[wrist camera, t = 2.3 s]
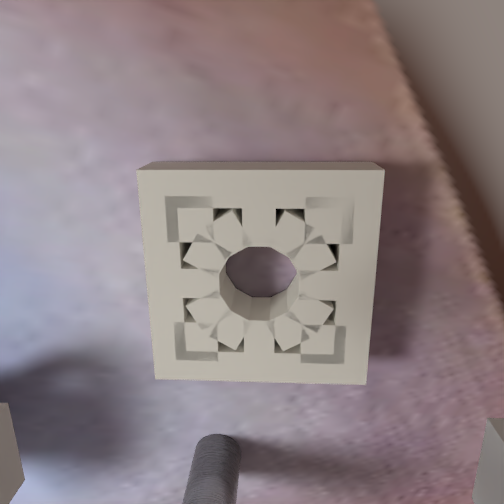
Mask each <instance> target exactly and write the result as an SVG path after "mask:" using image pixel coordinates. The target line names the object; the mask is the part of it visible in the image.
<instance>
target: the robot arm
mask: <svg viewBox="0 0 504 504" xmlns="http://www.w3.org/2000/svg"><path fill="white" fill-rule="evenodd" d="M24 480H25V478H24V473H23V469H22V464H21V459H20V455H19V450H18V446H17V441H16V437H15V432H14V427H13V423H12V418H11V414H10V409H9V405H8V403H0V504H9V503H10V501H11V500H12V498H13V497H14V495H15V494H16V492H17V491H18V489H19V488H20V486H21V485H22V483H23V482H24ZM472 499H473V501H474V503H475V504H504V418H487V423H486V428H485V434H484V439H483V444H482V449H481V454H480V459H479V464H478V469H477V474H476V479H475V484H474V489H473V494H472Z"/></svg>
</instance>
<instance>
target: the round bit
mask: <svg viewBox="0 0 504 504" xmlns="http://www.w3.org/2000/svg"><path fill="white" fill-rule="evenodd" d="M240 460H241V450H240V447H239V446H238V444H237V443H236V442H235V441H234V440H233V439H231V438H230V437H227V436H225V435H220V434H213V435H208V436H206V437H204V438H202V439H201V440H200V441H199V442H198V444H197V445H196V449H195V453H194V457H193V461H192V465H191V470H190V474H189V478H188V482H187V486H186V490H185V495H184V499H183V503H182V504H236V498H237V488H238V479H239V470H240Z"/></svg>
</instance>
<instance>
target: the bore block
mask: <svg viewBox="0 0 504 504" xmlns="http://www.w3.org/2000/svg"><path fill="white" fill-rule="evenodd" d="M136 171H137V182H138V193H139V204H140V215H141V226H142V237H143V248H144V259H145V270H146V281H147V293H148V304H149V315H150V326H151V337H152V348H153V359H154V370H155V379H170V380H206V381H242V382H278V383H315V384H351V385H366V379H367V368H368V356H369V345H370V334H371V322H372V311H373V300H374V288H375V277H376V266H377V254H378V243H379V232H380V220H381V209H382V198H383V186H384V175H385V170H384V169H382V168H381V167H379V166H378V165H376V164H375V163H373V162H151V163H149V164H147V165H145V166H143V167H141V168H139V169H137V170H136ZM276 209H278V210H277V212H276ZM191 242H193V243H192V244H191ZM330 244H332V248H331V245H330ZM246 247H271V248H273V249H275V250H276V251H278V252H280V253H282V254H284V255H285V256H287V257H289V259H290V260H291V262H292V264H293V265H294V267H295V269H296V270H297V274H296V276H295V277H294V279H293V281H292V282H291V284H290V285H289V287H288V288H287V289H286V290H284V291H282V292H280V293H278V294H276V295H274V296H272V297H251V296H249V295H247V294H245V293H243V292H241V291H240V290H238V289H236V288H235V287H234V285H233V283H232V282H231V280H230V279H229V277H228V276H227V274H226V261H227V260H228V258H229V257H230V256H232V255H233V254H235V253H237V252H239V251H241V250H243V249H245V248H246Z"/></svg>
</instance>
